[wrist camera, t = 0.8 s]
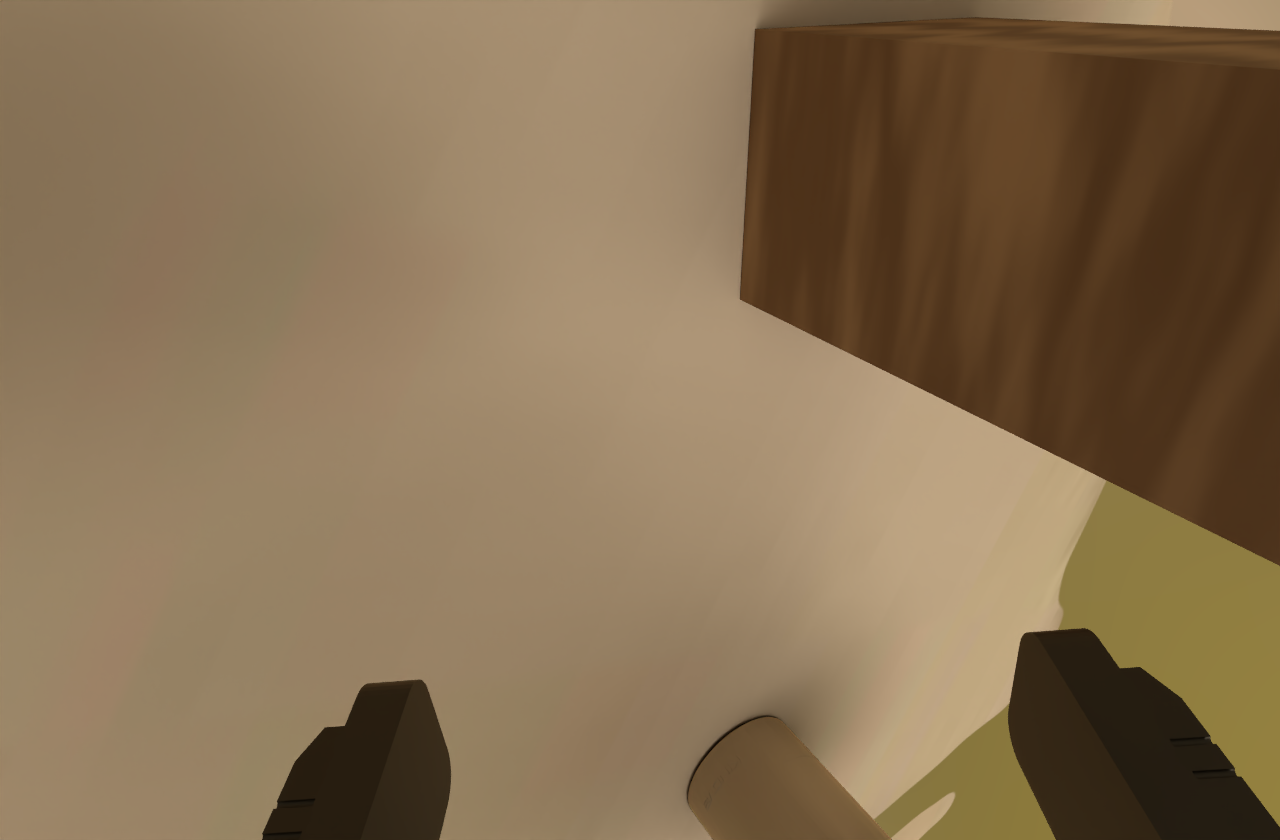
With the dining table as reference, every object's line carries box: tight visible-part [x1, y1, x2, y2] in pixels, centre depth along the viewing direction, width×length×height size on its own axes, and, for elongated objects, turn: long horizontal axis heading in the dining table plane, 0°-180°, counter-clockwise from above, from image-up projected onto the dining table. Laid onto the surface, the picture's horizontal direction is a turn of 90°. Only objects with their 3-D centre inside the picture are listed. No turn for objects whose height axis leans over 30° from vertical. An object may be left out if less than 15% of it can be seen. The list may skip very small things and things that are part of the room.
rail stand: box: [740, 17, 1280, 566], centre depth 27 cm, size 14×12×33 cm
